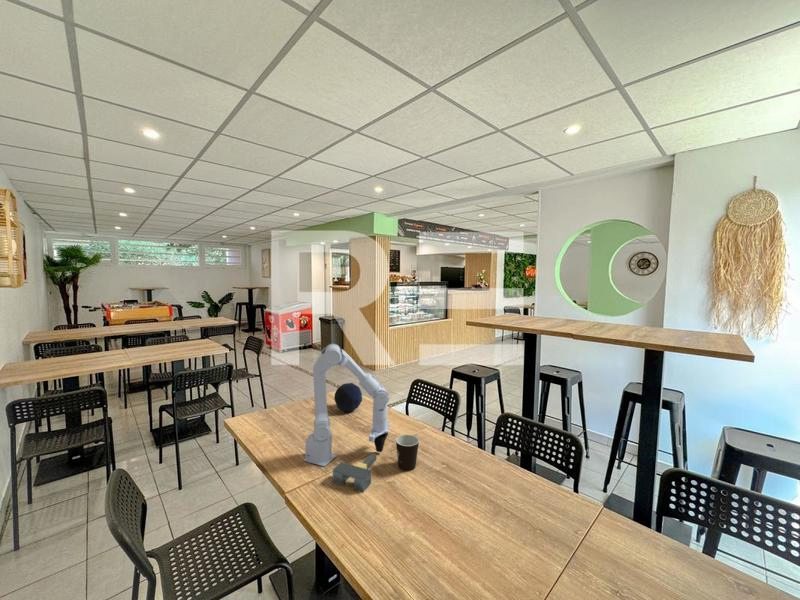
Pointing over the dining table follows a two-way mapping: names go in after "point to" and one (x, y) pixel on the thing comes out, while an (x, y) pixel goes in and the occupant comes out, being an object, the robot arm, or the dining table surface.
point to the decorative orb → (348, 397)
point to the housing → (352, 475)
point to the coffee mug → (407, 451)
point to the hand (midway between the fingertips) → (379, 450)
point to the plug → (368, 461)
